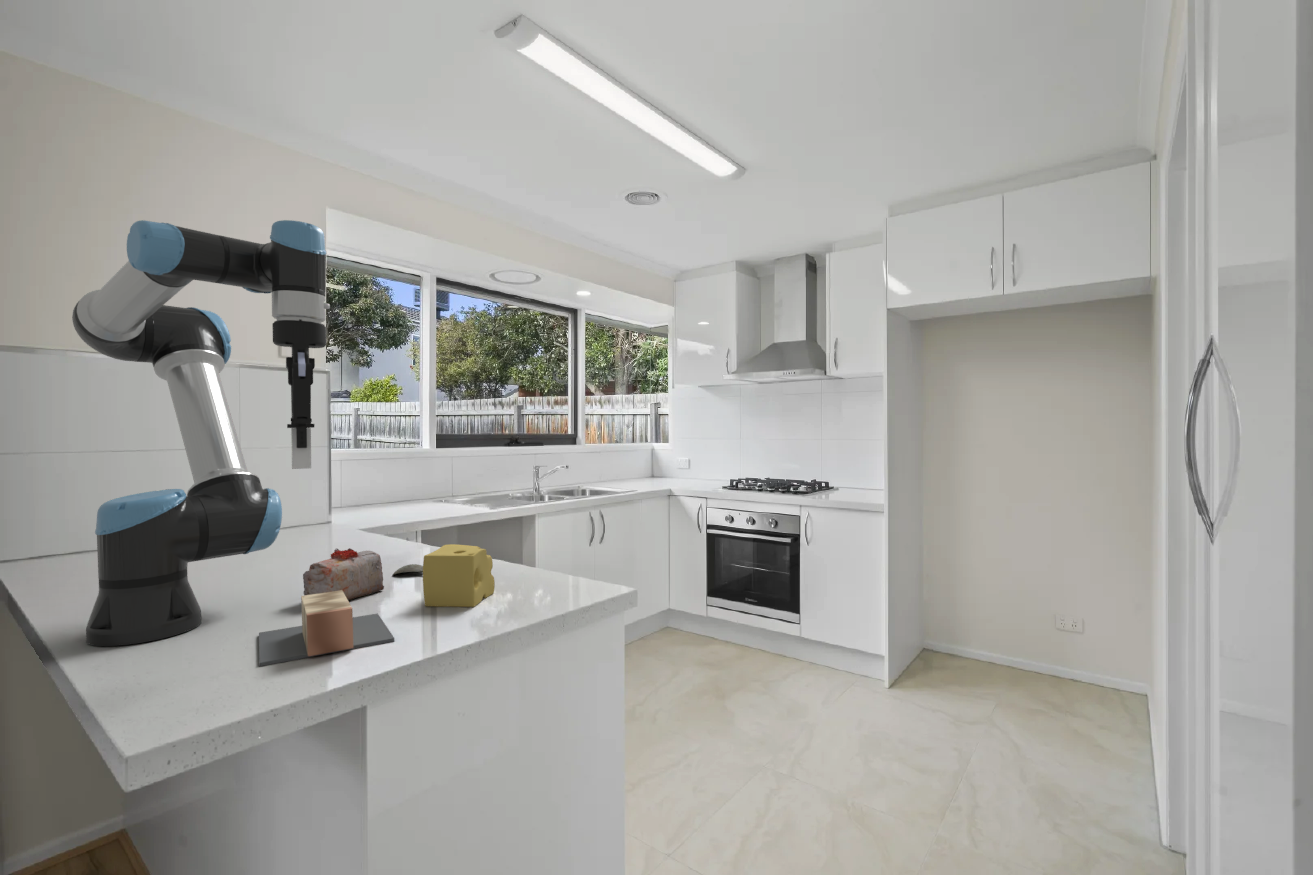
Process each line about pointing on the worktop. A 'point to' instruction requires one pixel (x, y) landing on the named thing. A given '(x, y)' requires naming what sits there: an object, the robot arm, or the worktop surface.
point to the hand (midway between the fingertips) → (301, 468)
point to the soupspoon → (410, 568)
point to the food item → (346, 574)
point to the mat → (292, 645)
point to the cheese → (457, 576)
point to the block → (327, 622)
